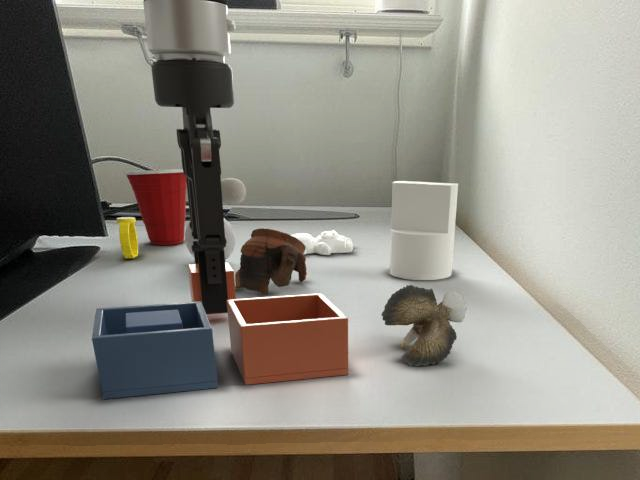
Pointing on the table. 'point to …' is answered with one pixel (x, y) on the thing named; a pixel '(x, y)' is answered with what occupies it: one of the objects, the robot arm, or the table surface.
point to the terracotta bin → (287, 338)
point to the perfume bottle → (232, 195)
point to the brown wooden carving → (270, 260)
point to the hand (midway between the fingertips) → (213, 305)
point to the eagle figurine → (425, 322)
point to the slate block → (153, 321)
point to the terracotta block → (196, 287)
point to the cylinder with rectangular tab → (422, 229)
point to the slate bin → (154, 353)
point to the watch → (128, 236)
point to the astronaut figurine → (325, 243)
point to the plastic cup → (161, 203)
